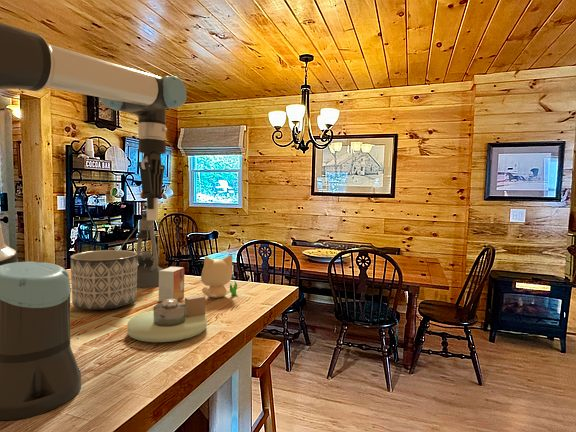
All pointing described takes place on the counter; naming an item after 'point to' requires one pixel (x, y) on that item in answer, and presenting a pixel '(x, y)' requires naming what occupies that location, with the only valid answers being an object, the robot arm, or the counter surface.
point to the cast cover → (169, 313)
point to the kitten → (217, 276)
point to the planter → (104, 279)
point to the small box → (171, 283)
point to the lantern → (147, 255)
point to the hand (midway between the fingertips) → (152, 220)
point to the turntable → (193, 325)
